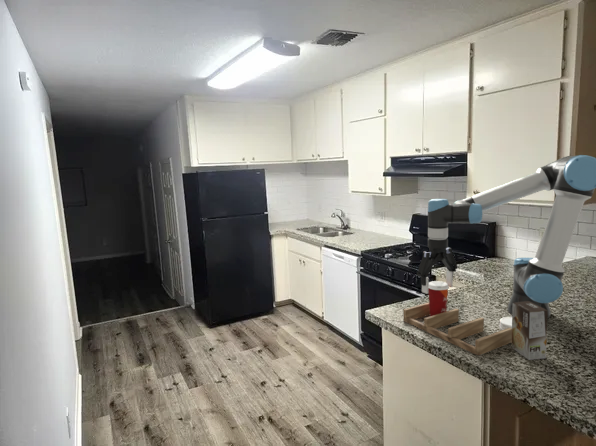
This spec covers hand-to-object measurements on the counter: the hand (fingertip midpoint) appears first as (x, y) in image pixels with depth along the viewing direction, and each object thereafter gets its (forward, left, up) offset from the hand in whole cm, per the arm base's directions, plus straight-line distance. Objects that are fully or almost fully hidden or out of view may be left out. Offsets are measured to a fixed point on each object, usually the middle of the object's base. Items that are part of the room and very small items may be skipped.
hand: (437, 289), depth 156 cm
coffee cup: (0, 0, -13) cm, 13 cm away
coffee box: (-32, +18, -13) cm, 38 cm away
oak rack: (-7, +9, -12) cm, 17 cm away
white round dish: (-28, 0, -13) cm, 30 cm away
